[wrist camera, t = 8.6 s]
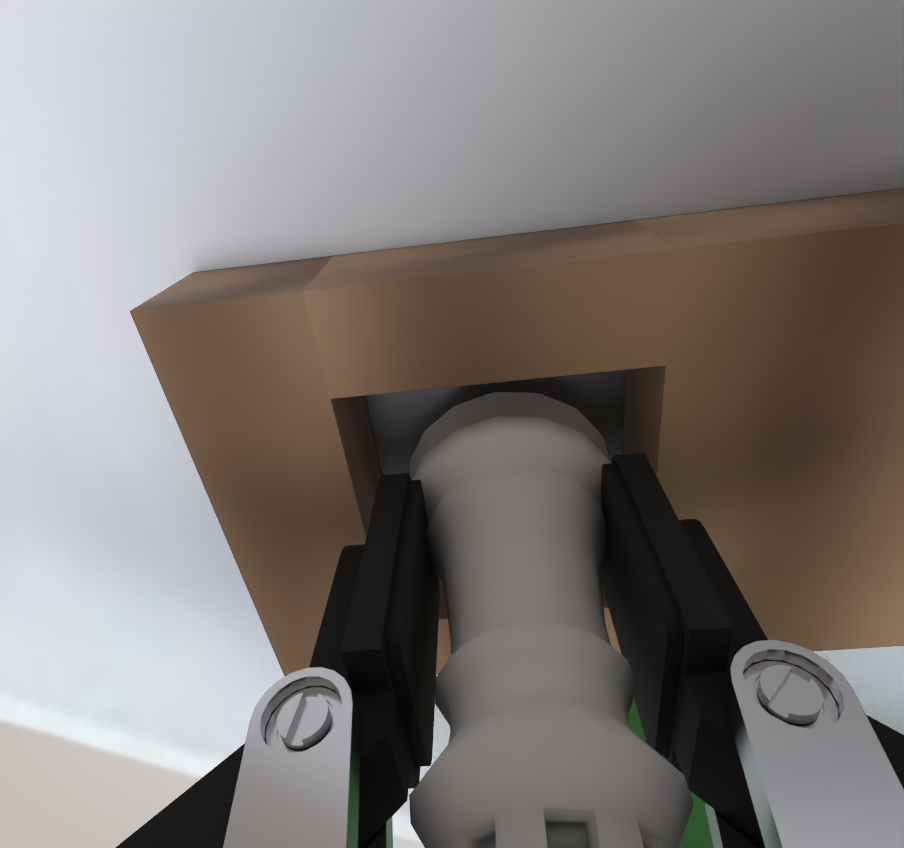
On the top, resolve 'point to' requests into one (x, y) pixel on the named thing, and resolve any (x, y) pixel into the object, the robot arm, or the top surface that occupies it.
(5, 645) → the top surface
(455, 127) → the top surface
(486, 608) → the rook chess piece
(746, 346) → the socket board
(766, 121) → the top surface
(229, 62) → the top surface
